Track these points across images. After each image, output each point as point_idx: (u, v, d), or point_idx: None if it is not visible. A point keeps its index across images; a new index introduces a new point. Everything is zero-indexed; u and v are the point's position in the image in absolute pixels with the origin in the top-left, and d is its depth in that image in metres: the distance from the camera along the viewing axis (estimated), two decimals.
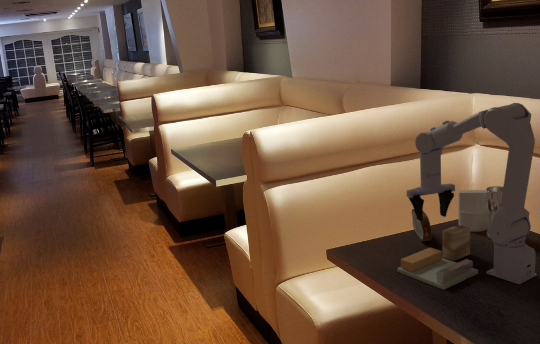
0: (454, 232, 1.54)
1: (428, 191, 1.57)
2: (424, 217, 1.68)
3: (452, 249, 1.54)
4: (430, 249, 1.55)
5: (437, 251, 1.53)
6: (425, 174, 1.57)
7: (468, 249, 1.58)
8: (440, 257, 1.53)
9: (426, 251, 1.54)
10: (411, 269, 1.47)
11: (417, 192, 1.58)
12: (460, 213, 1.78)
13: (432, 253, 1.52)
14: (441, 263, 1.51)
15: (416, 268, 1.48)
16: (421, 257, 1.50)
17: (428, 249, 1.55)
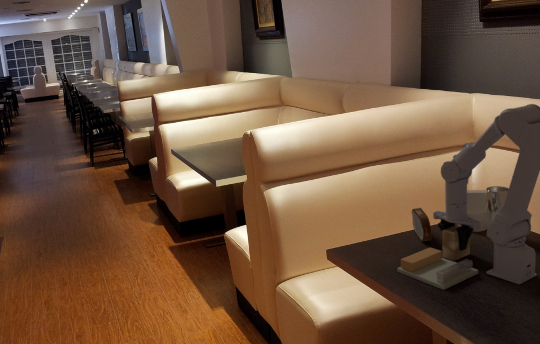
0: (454, 232, 1.54)
1: (444, 218, 1.56)
2: (424, 217, 1.68)
3: (452, 249, 1.54)
4: (430, 249, 1.55)
5: (437, 251, 1.53)
6: (445, 200, 1.56)
7: (468, 249, 1.58)
8: (440, 257, 1.53)
9: (426, 251, 1.54)
10: (411, 269, 1.47)
11: (438, 215, 1.59)
12: None
13: (432, 253, 1.52)
14: (441, 263, 1.51)
15: (416, 268, 1.48)
16: (421, 257, 1.50)
17: (428, 249, 1.55)
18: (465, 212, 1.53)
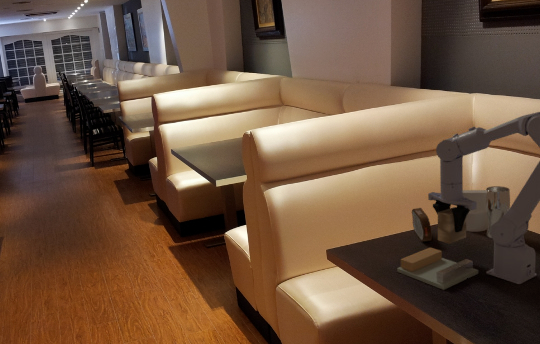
0: (450, 214, 1.49)
1: (439, 198, 1.51)
2: (424, 217, 1.68)
3: (447, 231, 1.50)
4: (430, 249, 1.55)
5: (437, 251, 1.53)
6: None
7: (464, 232, 1.53)
8: (440, 257, 1.53)
9: (426, 251, 1.54)
10: (411, 269, 1.47)
11: (433, 196, 1.54)
12: None
13: (432, 253, 1.52)
14: (441, 263, 1.51)
15: (416, 268, 1.48)
16: (421, 257, 1.50)
17: (428, 249, 1.55)
18: (461, 192, 1.48)
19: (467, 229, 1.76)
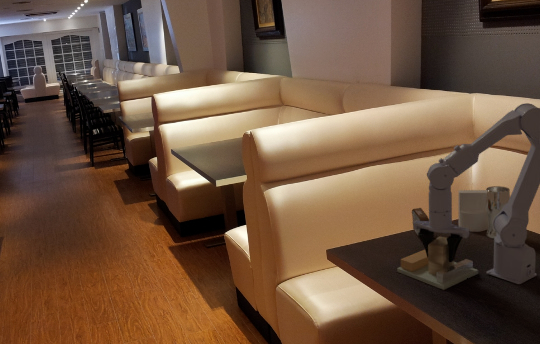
0: (441, 245, 1.43)
1: (428, 228, 1.44)
2: (424, 217, 1.68)
3: (440, 263, 1.43)
4: None
5: None
6: None
7: (452, 262, 1.48)
8: None
9: None
10: (411, 269, 1.47)
11: (419, 225, 1.46)
12: (460, 213, 1.78)
13: None
14: None
15: (416, 268, 1.48)
16: (421, 257, 1.50)
17: None
18: (451, 220, 1.42)
19: None
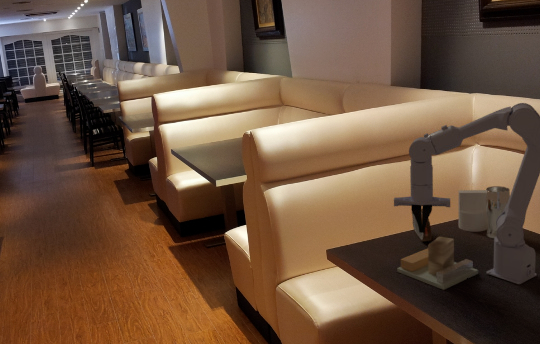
0: (441, 245, 1.43)
1: (413, 202, 1.46)
2: None
3: (440, 263, 1.43)
4: None
5: None
6: (411, 183, 1.46)
7: (452, 262, 1.48)
8: None
9: (426, 251, 1.54)
10: (411, 269, 1.47)
11: (402, 201, 1.48)
12: (460, 213, 1.78)
13: None
14: None
15: (416, 268, 1.48)
16: (421, 257, 1.50)
17: None
18: None
19: (467, 229, 1.76)
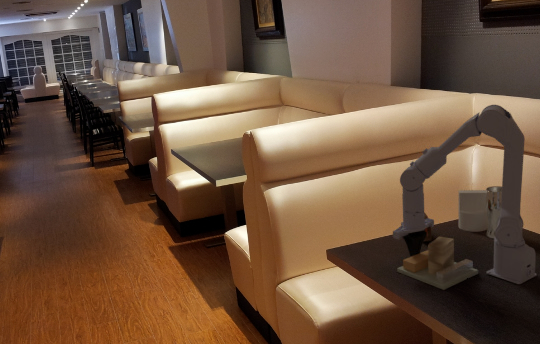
0: (441, 245, 1.43)
1: (415, 230, 1.49)
2: (424, 217, 1.68)
3: (440, 263, 1.43)
4: None
5: None
6: (411, 212, 1.48)
7: (452, 262, 1.48)
8: None
9: None
10: (413, 270, 1.47)
11: (405, 232, 1.48)
12: (460, 213, 1.78)
13: None
14: None
15: (418, 269, 1.47)
16: (424, 258, 1.49)
17: None
18: None
19: (467, 229, 1.76)
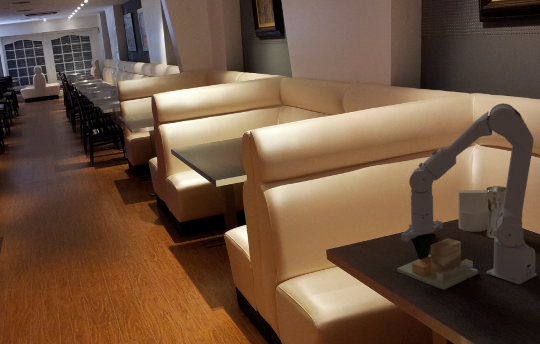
0: (443, 247, 1.42)
1: (424, 232, 1.46)
2: None
3: (441, 265, 1.42)
4: None
5: None
6: (420, 214, 1.46)
7: None
8: None
9: None
10: (423, 273, 1.44)
11: (413, 234, 1.46)
12: (460, 213, 1.78)
13: None
14: None
15: (428, 272, 1.45)
16: None
17: None
18: None
19: (467, 229, 1.76)
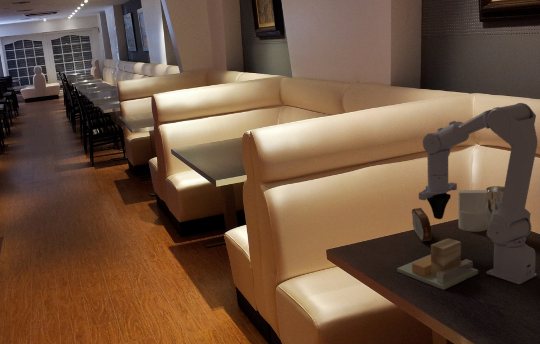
0: (443, 247, 1.42)
1: (440, 192, 1.57)
2: (424, 217, 1.68)
3: (441, 265, 1.42)
4: None
5: None
6: (436, 175, 1.57)
7: None
8: None
9: None
10: (423, 273, 1.44)
11: (430, 194, 1.56)
12: (460, 213, 1.78)
13: None
14: None
15: (428, 272, 1.45)
16: None
17: None
18: None
19: (467, 229, 1.76)
